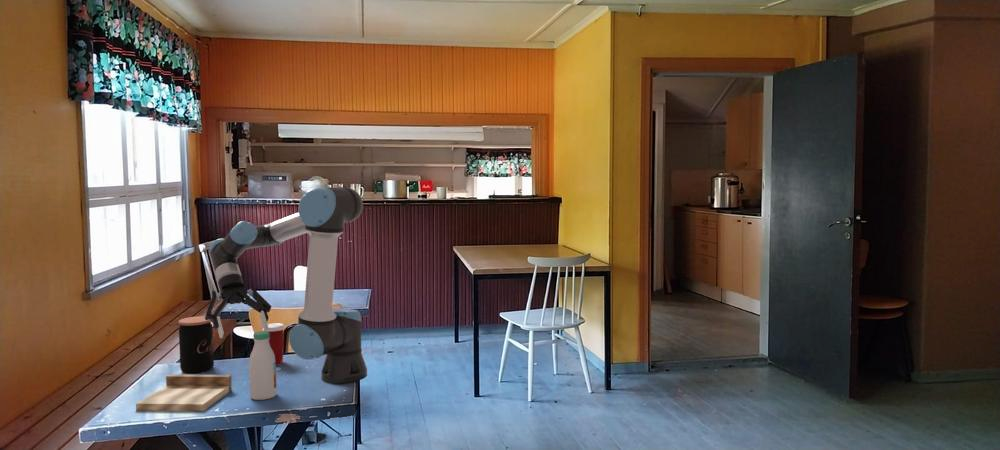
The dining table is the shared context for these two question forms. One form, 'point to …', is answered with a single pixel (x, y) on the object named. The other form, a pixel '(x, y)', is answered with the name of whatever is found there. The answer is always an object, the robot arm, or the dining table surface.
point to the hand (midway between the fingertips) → (244, 332)
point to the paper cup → (276, 340)
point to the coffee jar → (196, 345)
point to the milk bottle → (262, 368)
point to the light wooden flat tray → (187, 393)
